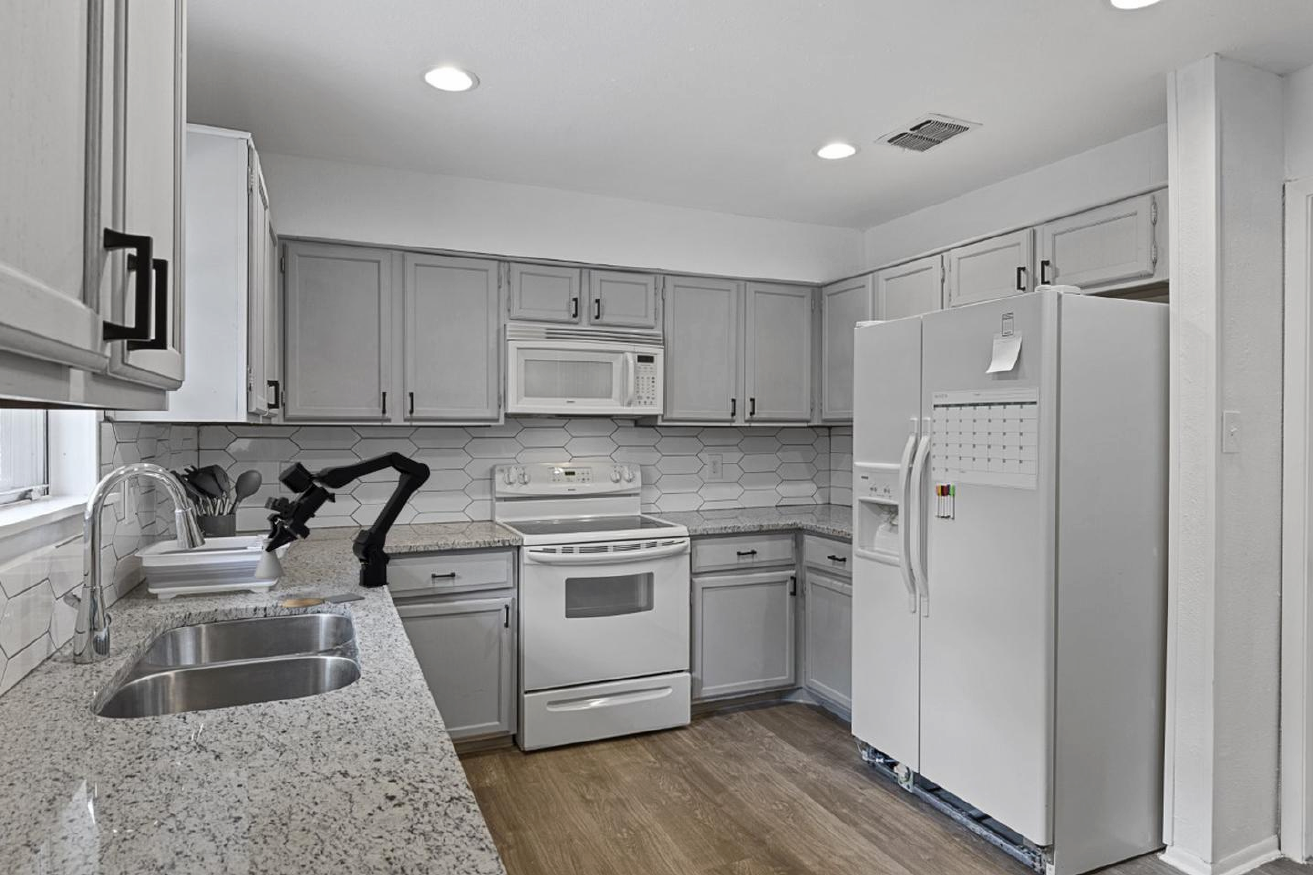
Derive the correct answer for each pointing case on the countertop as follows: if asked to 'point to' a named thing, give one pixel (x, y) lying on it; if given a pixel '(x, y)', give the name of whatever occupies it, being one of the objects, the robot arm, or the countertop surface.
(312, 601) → the cork trivet
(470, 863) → the countertop surface
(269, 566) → the flask
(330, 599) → the slate coaster
